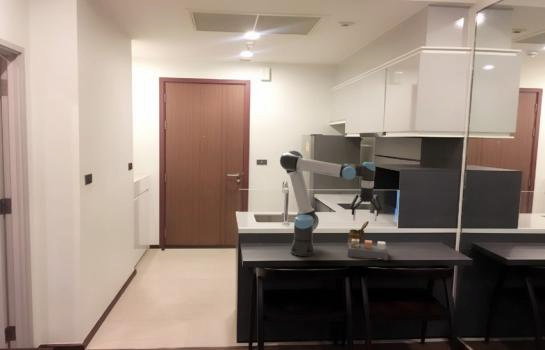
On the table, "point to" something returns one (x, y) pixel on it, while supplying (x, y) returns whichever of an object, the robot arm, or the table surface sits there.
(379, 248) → the white key
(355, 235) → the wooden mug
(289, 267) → the table surface
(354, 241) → the birch key
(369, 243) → the terracotta key
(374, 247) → the key console
